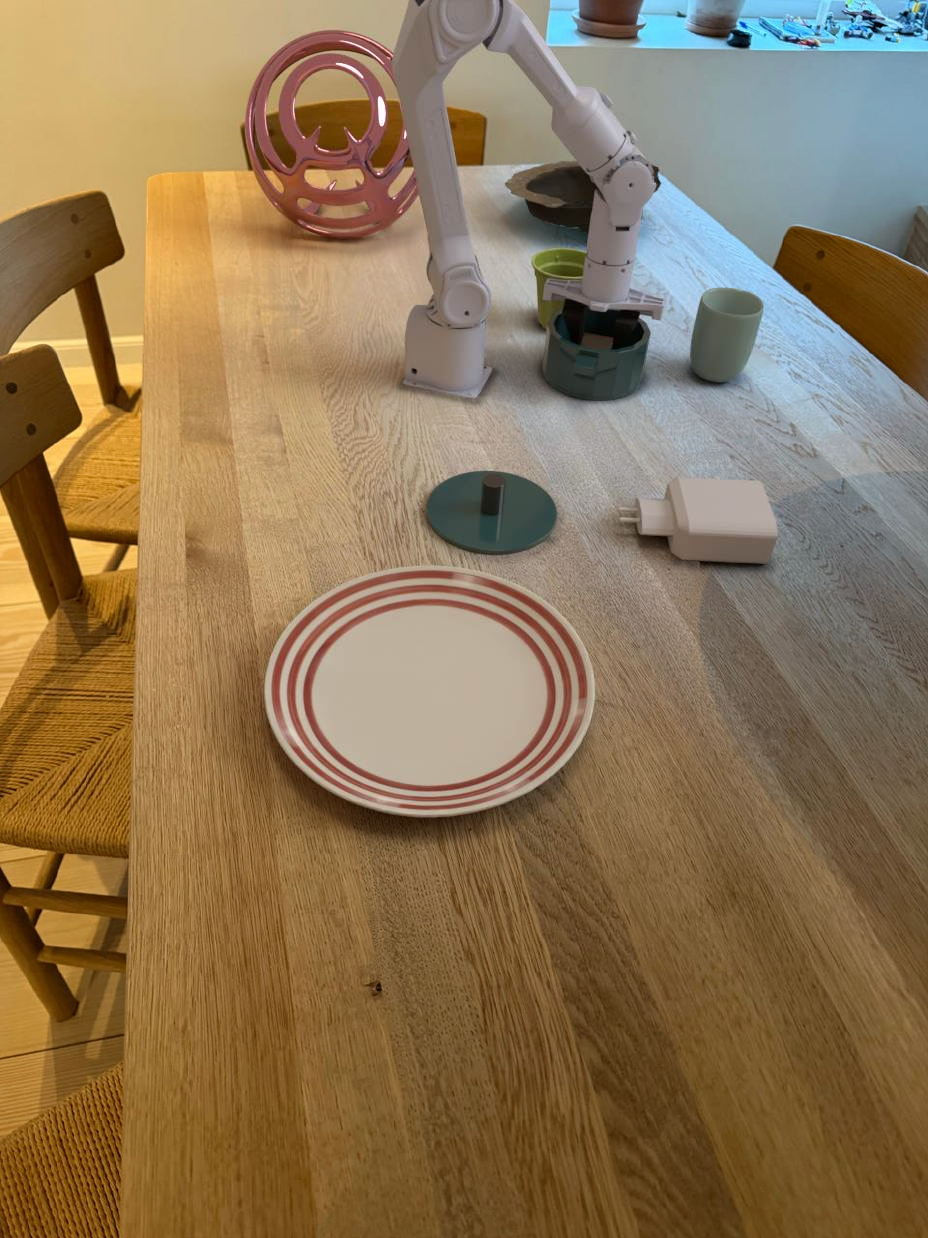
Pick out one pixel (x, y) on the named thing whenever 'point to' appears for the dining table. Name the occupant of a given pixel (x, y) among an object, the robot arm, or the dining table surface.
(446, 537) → the lid
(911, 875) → the dining table surface
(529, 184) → the stone bowl
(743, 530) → the charger
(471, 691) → the dinner plate
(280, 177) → the pink openwork sphere
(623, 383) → the pot
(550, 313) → the plant pot
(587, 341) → the block
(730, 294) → the cup
